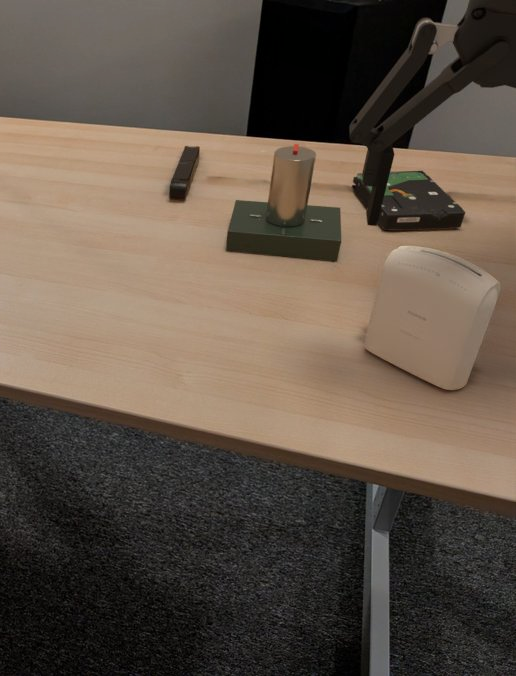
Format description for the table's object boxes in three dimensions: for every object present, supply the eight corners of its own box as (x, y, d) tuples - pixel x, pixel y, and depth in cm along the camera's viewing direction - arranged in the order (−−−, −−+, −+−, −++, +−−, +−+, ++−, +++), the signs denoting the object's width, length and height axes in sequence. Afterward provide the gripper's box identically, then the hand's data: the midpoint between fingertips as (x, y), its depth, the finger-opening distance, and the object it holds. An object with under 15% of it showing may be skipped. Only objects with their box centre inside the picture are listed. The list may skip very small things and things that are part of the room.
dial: (303, 228, 85) (315, 159, 79) (264, 225, 86) (273, 156, 81) (305, 212, 88) (317, 145, 83) (267, 209, 90) (276, 142, 84)
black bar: (185, 203, 100) (186, 184, 98) (168, 202, 101) (169, 183, 99) (199, 160, 114) (200, 143, 112) (185, 160, 115) (185, 143, 113)
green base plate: (336, 227, 91) (340, 206, 89) (337, 261, 83) (341, 239, 81) (233, 218, 95) (236, 198, 93) (225, 251, 87) (227, 229, 85)
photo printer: (354, 348, 69) (381, 243, 61) (379, 333, 70) (408, 229, 63) (450, 398, 62) (492, 287, 54) (474, 380, 63) (518, 270, 56)
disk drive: (461, 231, 88) (418, 186, 100) (468, 212, 86) (423, 168, 98) (383, 233, 89) (349, 188, 101) (388, 215, 87) (352, 171, 99)
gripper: (746, -68, 44) (609, 220, 56) (351, -57, 51) (306, 197, 63) (808, -56, 38) (641, 261, 51) (353, -46, 45) (304, 231, 58)
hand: (455, 226), depth 57 cm, fingers open, 13 cm apart
